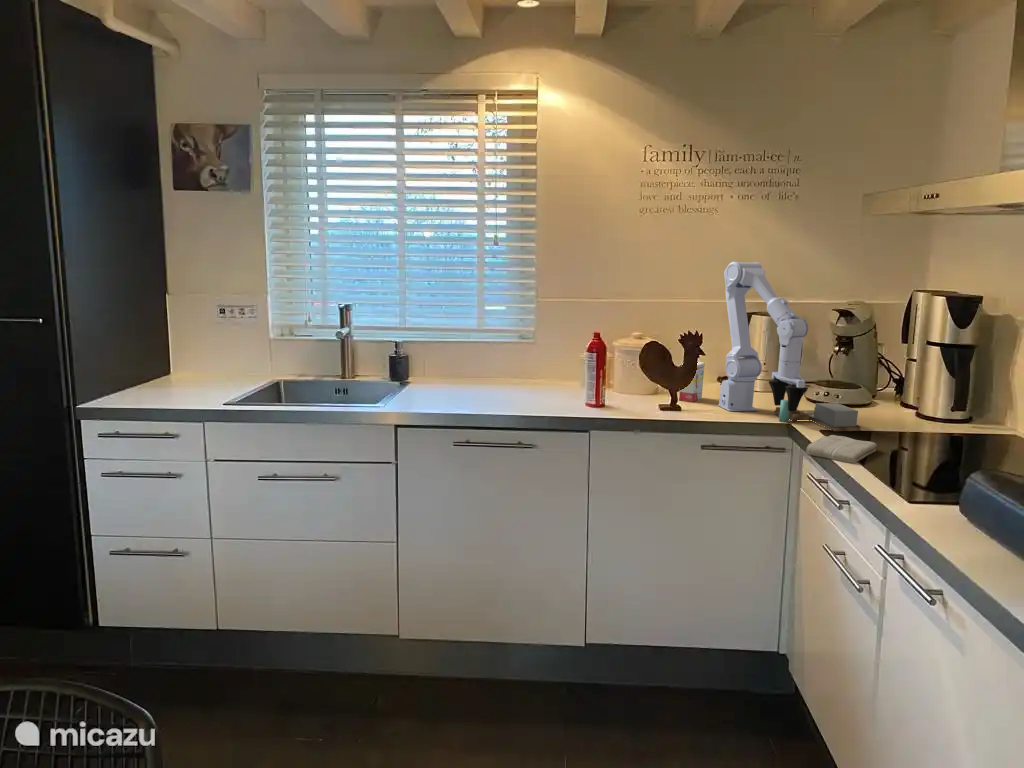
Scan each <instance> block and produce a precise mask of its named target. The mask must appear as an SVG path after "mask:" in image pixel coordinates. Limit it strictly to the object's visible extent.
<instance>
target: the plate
mask: <svg viewBox="0 0 1024 768" xmlns="http://www.w3.org/2000/svg"><path fill="white" fill-rule="evenodd" d="M813 409H814V410H813ZM813 409H807V410H806V409H805V410H803V409H802V410H799V411H801V412H804V413H806V414H809V419H810V420H812V421H814V422H816V423H818V424H820V425H823V426H825V427H827V428H829V429H828V430H830V429H831V430H830V431H832V430H833V431H832V432H860V431H861V427H862V426H861V425H858V424H857V426H851V427H835V426H833V425H830V424H828V423H826V422H823V421H821V420H818V419H816V418H814V414H815V407H813ZM816 423H815V424H816ZM818 424H817V425H818ZM820 425H819V426H820ZM823 426H822V427H823ZM825 427H824V428H825ZM827 428H826V429H827Z"/></svg>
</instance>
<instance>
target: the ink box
mask: <svg viewBox="0 0 1024 768" xmlns="http://www.w3.org/2000/svg"><path fill="white" fill-rule="evenodd" d="M697 362H698V363H697V370H696V374H695V376H694V378H693V380H692V381H691V383H690V384H689V385H688V386H687V387H685V388H684V389H682V390H680V389H679V395H678V396H679V397H678V401H682V402H683V401H684V402H690V403H694V402H696V401H697V402H698V401H699V400H701V399H702V398H703V385H704V376H705V375H704V374H705V364H706V363H705V362H703V361H697ZM683 363H684V362H682V363H681V366H682V365H683Z"/></svg>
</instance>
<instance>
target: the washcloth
mask: <svg viewBox="0 0 1024 768" xmlns="http://www.w3.org/2000/svg"><path fill="white" fill-rule="evenodd" d="M877 445H878V444H877V443H875V441H874V442H873V441H867V440H858V439H854V438H851V437H847V436H843V435H836V434H831V435H829V436H826V435H824V436H822V437H820V438H818V439H816V440H814V441H812V442H811V443H809V444H808V445H807V447H806V448H805V449H806V450H805V454H806V455H810V456H814V457H818V458H824V459H829V460H834V461H839V462H843V463H847V464H855V463H857V462H859V461H861V460H863V459H864V458H865V457H867V456H869V455H871V454H873V453H874V452H876V450H877V449H876V448H877Z"/></svg>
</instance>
